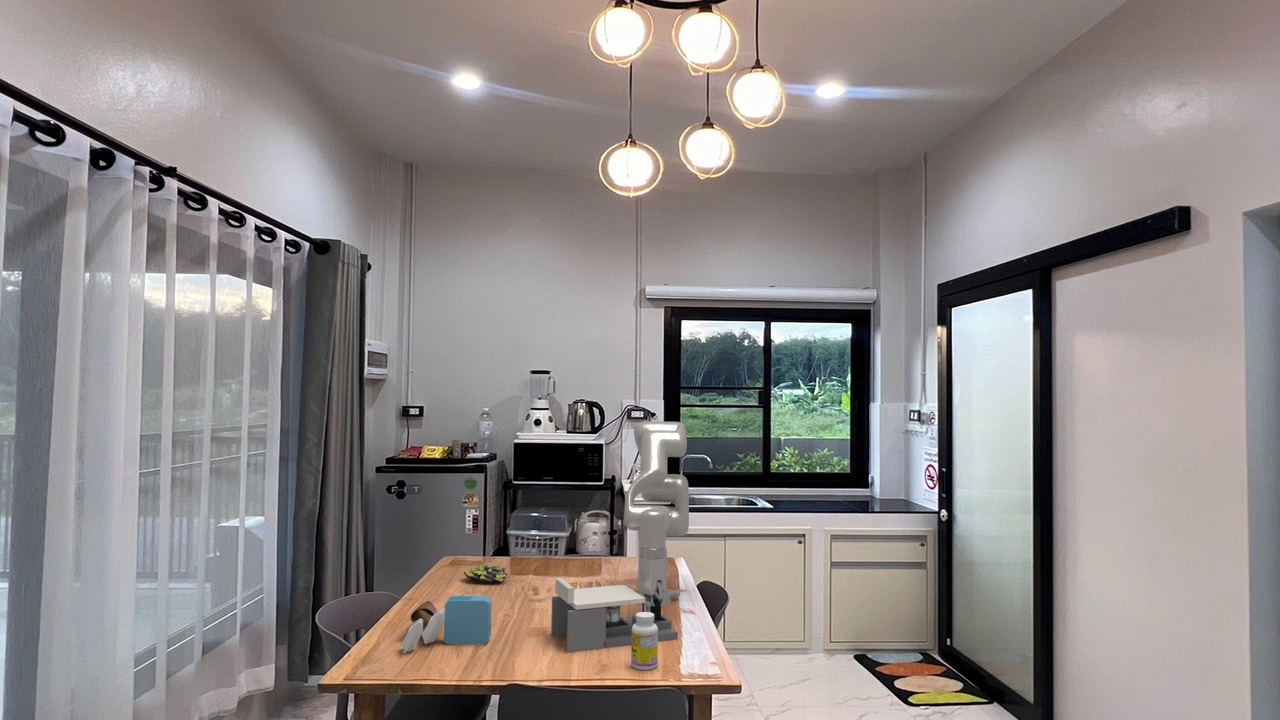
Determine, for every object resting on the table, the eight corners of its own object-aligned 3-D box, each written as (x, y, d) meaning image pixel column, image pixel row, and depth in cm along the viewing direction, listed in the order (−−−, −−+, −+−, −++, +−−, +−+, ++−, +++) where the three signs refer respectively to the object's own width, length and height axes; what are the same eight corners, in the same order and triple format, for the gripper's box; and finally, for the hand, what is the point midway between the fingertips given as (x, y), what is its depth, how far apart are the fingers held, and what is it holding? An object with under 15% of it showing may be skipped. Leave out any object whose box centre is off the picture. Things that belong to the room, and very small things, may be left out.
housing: (654, 623, 223) (654, 586, 223) (677, 639, 208) (678, 600, 209) (551, 634, 210) (551, 596, 211) (568, 652, 196) (568, 611, 196)
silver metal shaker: (641, 621, 215) (641, 594, 216) (655, 619, 217) (655, 593, 217) (647, 625, 211) (647, 598, 212) (661, 623, 213) (661, 597, 213)
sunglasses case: (435, 634, 202) (437, 609, 204) (409, 634, 201) (410, 609, 203) (443, 623, 220) (444, 599, 221) (418, 623, 219) (420, 599, 220)
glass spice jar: (616, 626, 212) (617, 600, 212) (622, 631, 208) (622, 604, 208) (602, 628, 210) (602, 601, 211) (607, 633, 206) (608, 605, 207)
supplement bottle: (630, 661, 190) (630, 610, 191) (656, 661, 190) (656, 610, 191) (632, 671, 183) (632, 618, 184) (658, 670, 184) (659, 618, 184)
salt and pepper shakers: (429, 631, 205) (448, 601, 202) (438, 642, 203) (457, 612, 200) (395, 642, 194) (414, 611, 192) (404, 654, 193) (423, 623, 190)
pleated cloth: (475, 573, 287) (480, 556, 288) (515, 585, 284) (520, 568, 286) (457, 575, 268) (463, 557, 269) (499, 588, 265) (505, 570, 266)
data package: (490, 639, 206) (491, 595, 206) (488, 645, 201) (489, 600, 202) (446, 640, 205) (448, 595, 206) (443, 645, 200) (444, 600, 201)
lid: (623, 588, 220) (624, 570, 220) (645, 602, 205) (645, 583, 205) (553, 595, 211) (553, 576, 211) (570, 610, 196) (570, 590, 197)
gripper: (629, 548, 221) (628, 610, 220) (652, 560, 206) (651, 627, 205) (652, 546, 224) (651, 608, 223) (676, 558, 209) (676, 624, 208)
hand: (651, 616), depth 214 cm, fingers open, 4 cm apart
